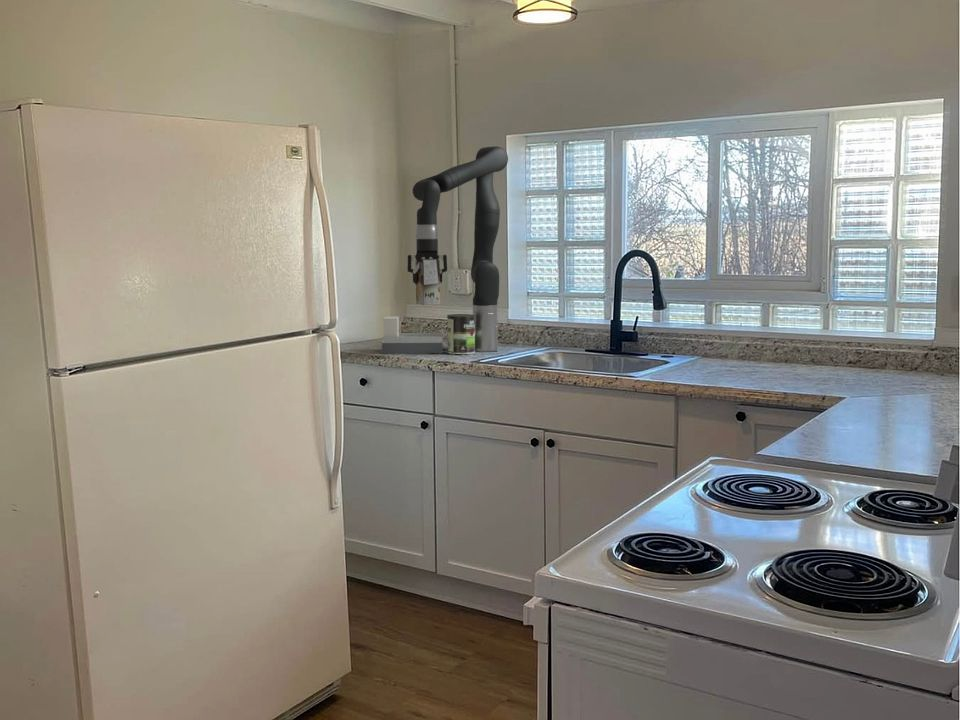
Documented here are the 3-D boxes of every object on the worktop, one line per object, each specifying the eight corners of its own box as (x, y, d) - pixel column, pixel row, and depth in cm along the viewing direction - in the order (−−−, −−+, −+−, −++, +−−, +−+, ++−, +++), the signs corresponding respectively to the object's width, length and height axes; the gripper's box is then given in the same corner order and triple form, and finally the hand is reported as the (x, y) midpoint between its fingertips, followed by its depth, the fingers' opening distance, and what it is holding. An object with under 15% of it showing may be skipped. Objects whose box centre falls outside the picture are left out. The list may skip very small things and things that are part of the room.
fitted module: (398, 337, 342) (398, 316, 341) (397, 340, 333) (397, 318, 332) (385, 337, 342) (385, 316, 341) (383, 340, 333) (383, 318, 332)
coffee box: (441, 304, 319) (440, 259, 317) (424, 305, 317) (423, 259, 315) (431, 303, 328) (431, 258, 325) (415, 303, 325) (414, 258, 323)
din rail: (442, 338, 345) (442, 333, 344) (442, 342, 332) (442, 336, 331) (384, 339, 344) (384, 333, 344) (382, 343, 331) (381, 337, 331)
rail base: (442, 349, 346) (442, 338, 345) (442, 353, 332) (442, 342, 331) (384, 349, 345) (384, 338, 344) (382, 354, 331) (381, 343, 331)
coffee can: (480, 352, 335) (480, 314, 333) (463, 355, 327) (463, 316, 325) (459, 350, 341) (458, 313, 339) (441, 353, 333) (441, 315, 331)
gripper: (447, 237, 323) (447, 283, 325) (407, 237, 323) (408, 283, 325) (447, 237, 316) (447, 284, 318) (406, 238, 315) (406, 284, 317)
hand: (427, 284), depth 321 cm, fingers closed on coffee box, 8 cm apart
